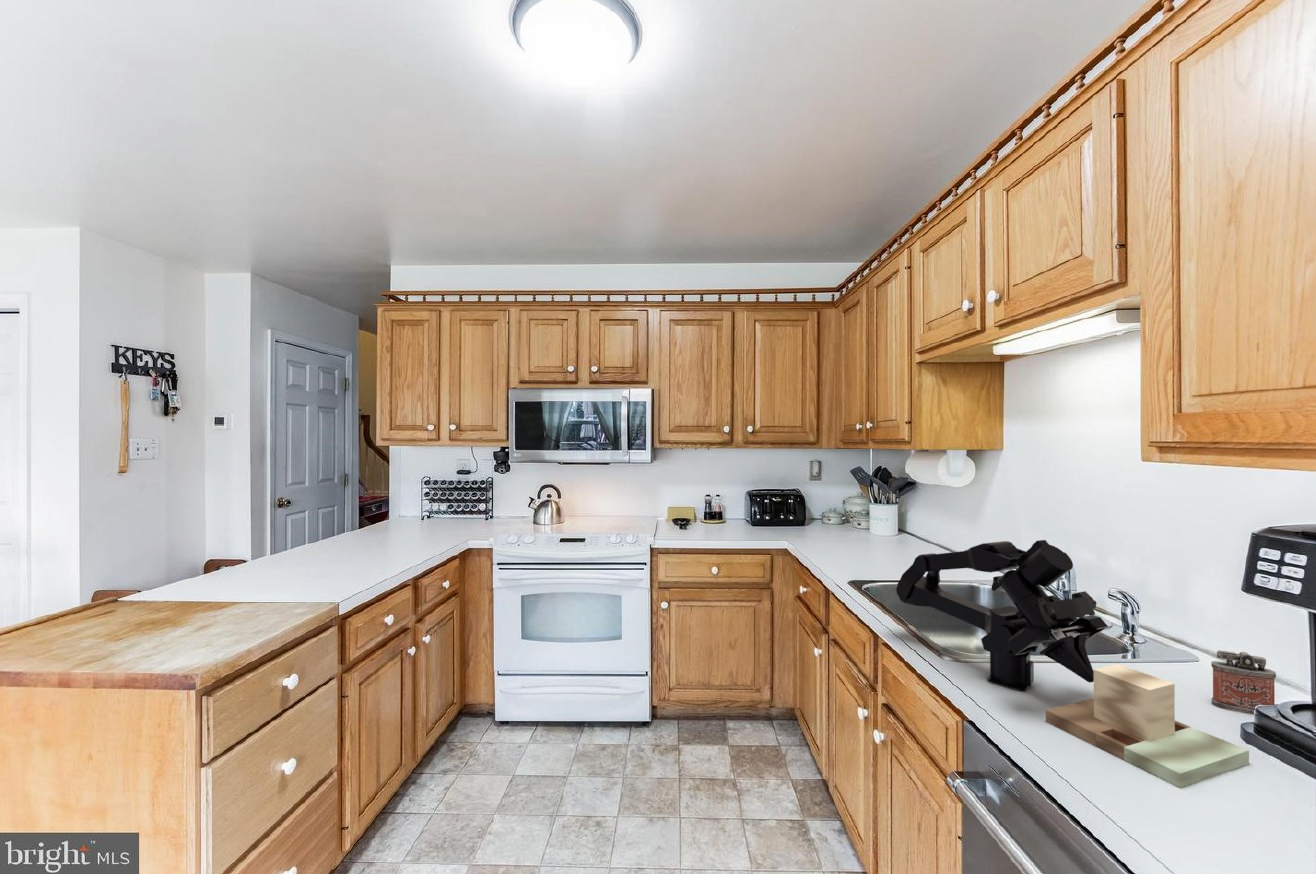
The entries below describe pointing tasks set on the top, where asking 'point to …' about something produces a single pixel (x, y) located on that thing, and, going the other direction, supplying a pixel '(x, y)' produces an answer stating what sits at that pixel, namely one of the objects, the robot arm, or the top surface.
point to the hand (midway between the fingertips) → (1093, 681)
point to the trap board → (1153, 746)
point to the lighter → (1242, 682)
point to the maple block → (1134, 702)
